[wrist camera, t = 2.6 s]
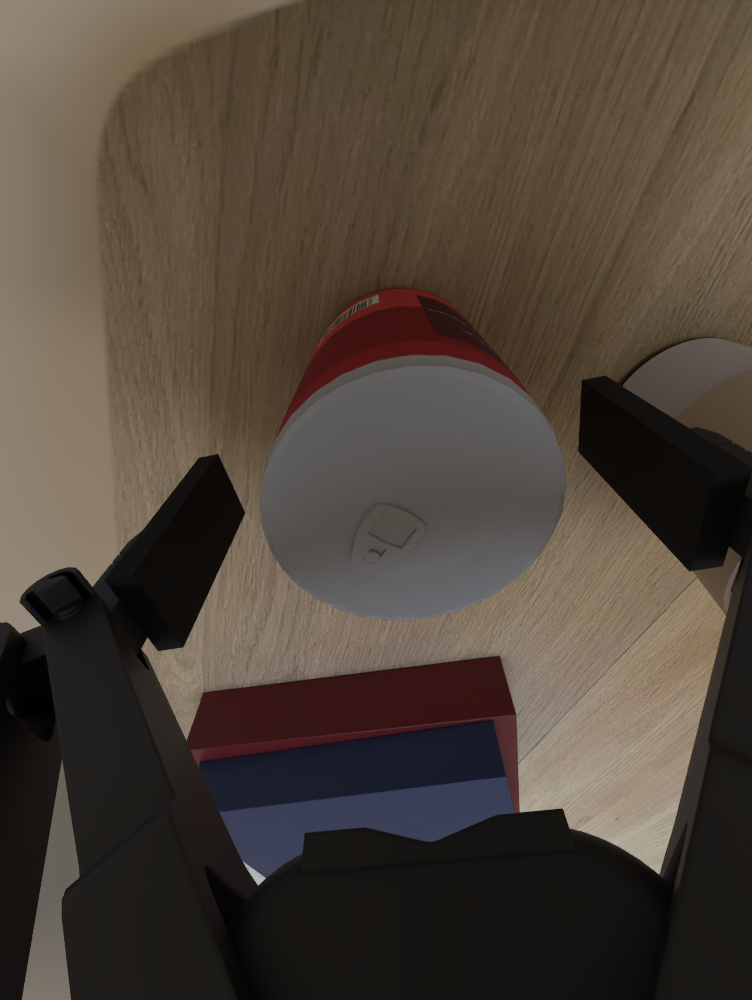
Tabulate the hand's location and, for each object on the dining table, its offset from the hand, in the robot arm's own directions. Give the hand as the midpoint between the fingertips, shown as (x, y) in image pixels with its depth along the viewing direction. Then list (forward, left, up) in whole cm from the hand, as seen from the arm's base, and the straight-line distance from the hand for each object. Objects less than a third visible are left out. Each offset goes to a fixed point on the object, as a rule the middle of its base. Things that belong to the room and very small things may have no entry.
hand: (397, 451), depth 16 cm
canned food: (-1, 0, -6) cm, 6 cm away
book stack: (+30, -8, -6) cm, 32 cm away
